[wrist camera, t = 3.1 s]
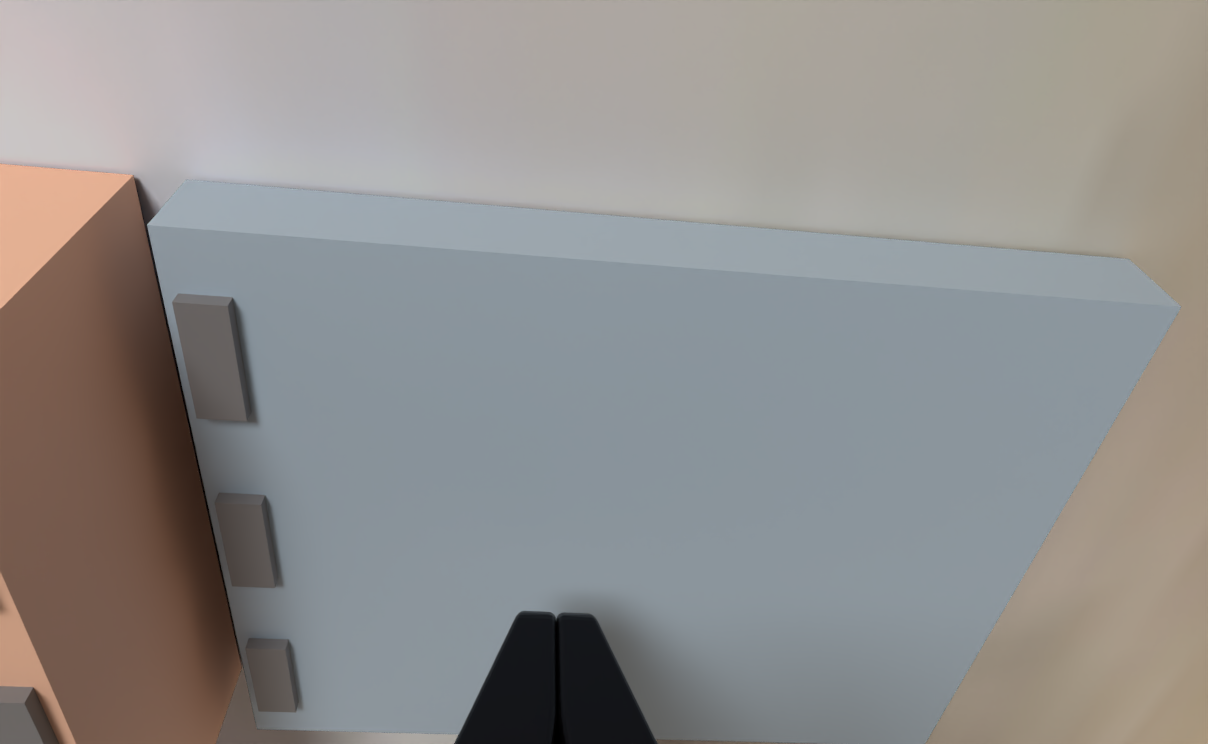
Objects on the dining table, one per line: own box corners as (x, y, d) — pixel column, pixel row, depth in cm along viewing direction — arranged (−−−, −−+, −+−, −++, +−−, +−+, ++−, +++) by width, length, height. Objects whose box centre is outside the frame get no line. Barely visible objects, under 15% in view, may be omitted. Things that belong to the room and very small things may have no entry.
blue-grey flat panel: (1128, 259, 10) (1190, 314, 9) (902, 688, 14) (927, 756, 13) (186, 180, 9) (140, 232, 8) (275, 668, 13) (253, 740, 12)
